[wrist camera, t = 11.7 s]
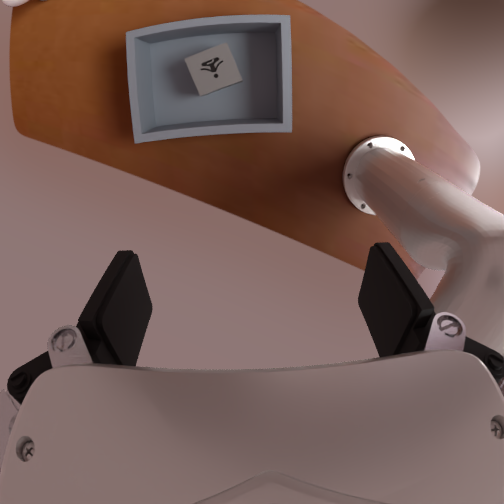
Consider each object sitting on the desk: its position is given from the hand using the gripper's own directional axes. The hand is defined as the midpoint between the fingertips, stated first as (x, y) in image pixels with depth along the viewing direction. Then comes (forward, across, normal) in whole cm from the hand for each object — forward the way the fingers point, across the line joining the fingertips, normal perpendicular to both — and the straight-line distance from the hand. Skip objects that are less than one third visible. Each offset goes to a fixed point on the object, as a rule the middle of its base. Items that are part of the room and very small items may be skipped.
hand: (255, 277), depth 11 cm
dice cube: (+29, +4, -10) cm, 31 cm away
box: (+30, +4, -9) cm, 32 cm away
